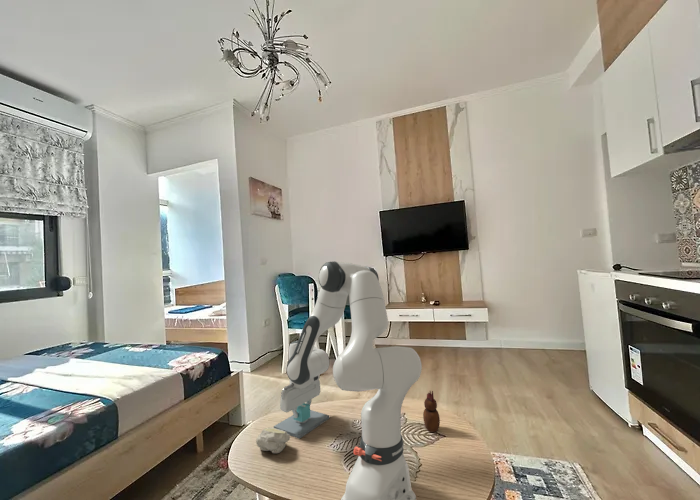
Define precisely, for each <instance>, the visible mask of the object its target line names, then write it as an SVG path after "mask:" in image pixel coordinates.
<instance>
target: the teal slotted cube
mask: <svg viewBox="0 0 700 500" xmlns="http://www.w3.org/2000/svg"><path fill="white" fill-rule="evenodd" d="M310 410H311V405H309V404H306V402H305V403H304V404H302V405H300V406H298V407H297V410H296V411H297V412H299V417H298V418H294V420H297V421H300V422H303V421H305V420H307V419H308V418H310ZM292 415H293V416H294V414H292Z"/></svg>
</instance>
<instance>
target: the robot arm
mask: <svg viewBox="0 0 700 500" xmlns="http://www.w3.org/2000/svg"><path fill="white" fill-rule="evenodd" d="M379 278H380V277H379V273H378V272H377V271H376V270H375V269H374V268H373V267H371V266H368V265H366V266H364V265H361V264H355V263H352V262H342V261H341V262H339V261H338V262H337V261H328V262H326V261H325V263H323V264H322V265H321V267H320V270H319V272H318V283H319V286H320V289H319V291H318V295H317V299H316V303H315V305H314V307H313V310H312V312H311V313H310V315H309V317H308V318H307V320H306V322H304V323H305V324H304V325H303V328H302V331H301V333H300V336H299V338H298V339H297V340H294V341H291V343H290V344H289V347H288V361H287V363H286V375H287V378H288V381H289V384H288V385H286V386H284V387H283V389H282V391H281V392H280V393H281V394H280V403H279V406H280V409H279V410H280V411H281V412H283V413H289V412H292V413H293V414H294V418H298V417H299V412H297V411H296V410H297V407H298V406H300V405H302V404H304V403H306V404H309V405H310V406H311V404H312V399H315V398H316V397H318V396H320V393H321V381H320V375H321V374H324V373H326V371H328V370H329V368H330V364H331V363H330V362H331V361H330V357H329V354H328V352H327V351H325V350H324V349H323V348H318V347H317V346H315V345H316V342H317V340H318V338H320V336H321V335H322V334H323V333H325V332H327V331H328V330H329V329H331V328H332V327H333V326H335V325H336V324H338V323H339V322H340V320H341V319H342V317H343V315H344V311H345V308H346V305H347V301H348V299H349V301H348V302H349V309H350V317H351V318H350V319H351V334H350V338H349V340H348V342H347V344H346V347H345V348H344V349H343V350H342V352H341V353H340V354H339V355H338V356H337V357H336V359H334V360H335V361H334V363H333V366H332V375H333V379H334V381H335V383H336V385H337V386H338V388H339V389H340V390H342V391H344V392H346V391H347V392H356V393H358V392H364V391H365V392H366V391H372V390H373V391H374V390H377V392H376V393H375V395H373V396H372V397H371V398H370V399H369V400H368V401H366V402H365V403H364V405H363V407H362V409H361V411H360V417H361V418H360V420H361V422H360V423H361V437H360V442H359V446H358V445H357V446H356V445H355V447H354V448H353V455H355V456H358V457H357V459H356V461H355V463H354V465H353V468H352V469H351V472H350V474H349V476H348V479H347V481H346V484H345V492H344V494H343V495H342V497H341V499H340V500H417V496H416V493H415V492H414V491H413V490H412V485H411V477H410V469H409V465H408V463H407V461H406V458H405V456H404V446H405V445H404V440H403V435H402V431H401V429H402V428H401V417H402V416H401V415H402V406H403V403H404V399H405V398H406V395H407V394H408V392H409V390H410V389H411V387H412V386H413V385H414V384H415V383H416V382H417V381H418V380H419V379H420V377H421V375H422V370H423V369H422V367H423V366H422V361H421V360H422V359H421V357H420V356H419V354H418V353H417V351H416V350H415V349H414V348H412V347H409V346H399V345H395V346H385V347H384V346H383V347H377V348H376V347H374V345H373V343H374V340H375V339H377V338H378V337H380V336H381V335H382V334H383V333H384V332H386V331H387V329H388V326H389V319H388V317H389V316H388V314H387V308H386V303H385V297H384V293H383V290H382V286H381V284H380V280H379ZM293 414H292V415H293Z"/></svg>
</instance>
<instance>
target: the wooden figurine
mask: <svg viewBox="0 0 700 500" xmlns="http://www.w3.org/2000/svg"><path fill="white" fill-rule="evenodd" d="M434 397H435V396H434V391H433V390H429V392H428V393H427V394H426V398H425V399H424V401H423V403H424V404H423V405H424V410H423V415H422V416H423V417H422V419H423V422H424V426H425V429H426V430H427V431H428V432H430V433H436V432H437V431H439V429H440V424H441V423H440V421H441V419H440V414H439V411H438V410H437V408H438V404H437V401H436V399H435V398H434Z"/></svg>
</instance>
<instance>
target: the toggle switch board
mask: <svg viewBox="0 0 700 500" xmlns="http://www.w3.org/2000/svg"><path fill="white" fill-rule="evenodd" d="M329 419H330V415H328V414H326V413H322V412H319V411H316V410H313V409H310V418H308V419H307V420H305V421H303V422H300V421H297V420H294V416H293V414H292V415H291V416H289V417H287V418H285V419H284V420H281V422H278V423H277V424H275V425H273V428H275V429H279V430H283V431H286V432H287V434H289V435H290V437H293V438H295V439H298V440H300V439H301V438H303V437H304V436H306V435H307V434H309V433H310V432H311V431H313V430H314V429H316V428H317V427H319V426H321V425H322V424H324V423H325V422H326V421H328V420H329Z"/></svg>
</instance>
